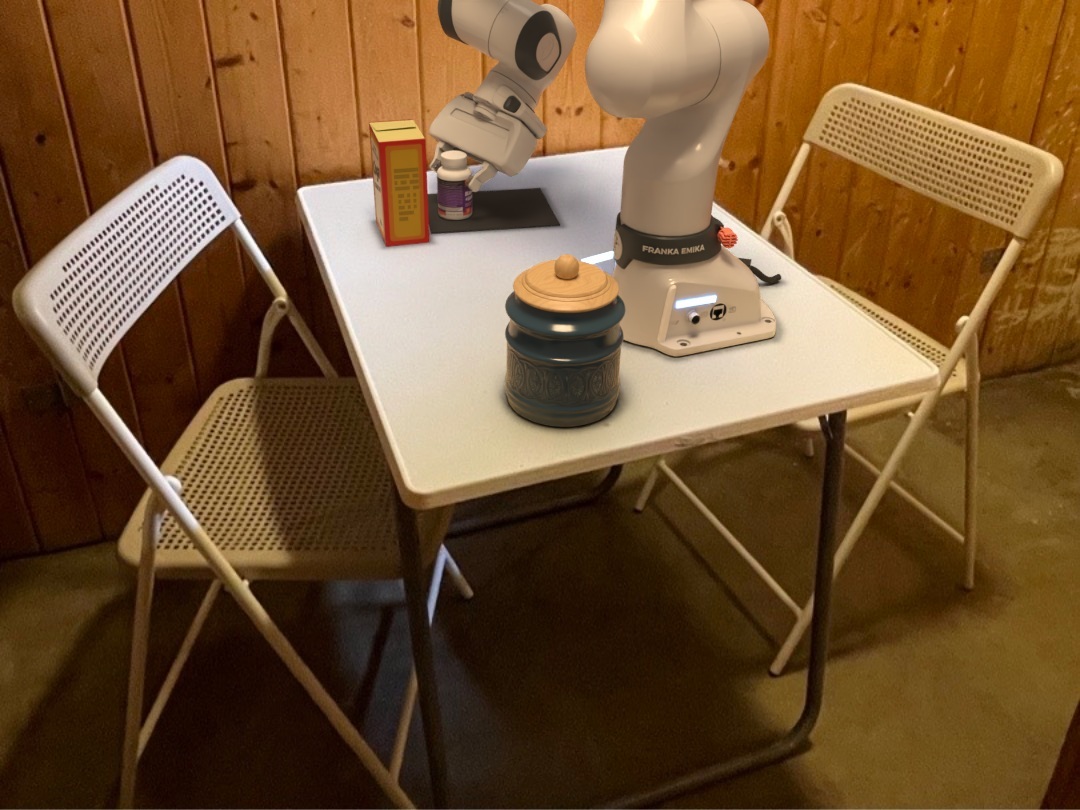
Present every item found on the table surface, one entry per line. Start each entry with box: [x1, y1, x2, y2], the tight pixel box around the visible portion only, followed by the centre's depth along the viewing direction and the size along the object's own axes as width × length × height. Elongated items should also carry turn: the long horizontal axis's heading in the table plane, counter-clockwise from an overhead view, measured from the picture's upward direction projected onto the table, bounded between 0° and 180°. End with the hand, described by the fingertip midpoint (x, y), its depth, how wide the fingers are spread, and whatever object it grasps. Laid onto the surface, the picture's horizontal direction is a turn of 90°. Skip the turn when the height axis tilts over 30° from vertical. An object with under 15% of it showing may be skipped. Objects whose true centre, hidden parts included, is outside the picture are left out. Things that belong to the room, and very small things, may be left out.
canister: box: [504, 253, 626, 428], centre depth 110 cm, size 13×13×18 cm
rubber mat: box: [428, 187, 561, 235], centre depth 161 cm, size 20×16×1 cm
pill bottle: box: [436, 150, 473, 220], centre depth 156 cm, size 5×5×10 cm
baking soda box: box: [368, 118, 431, 247], centre depth 149 cm, size 10×6×16 cm
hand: (451, 179), depth 155 cm, fingers open, 8 cm apart
